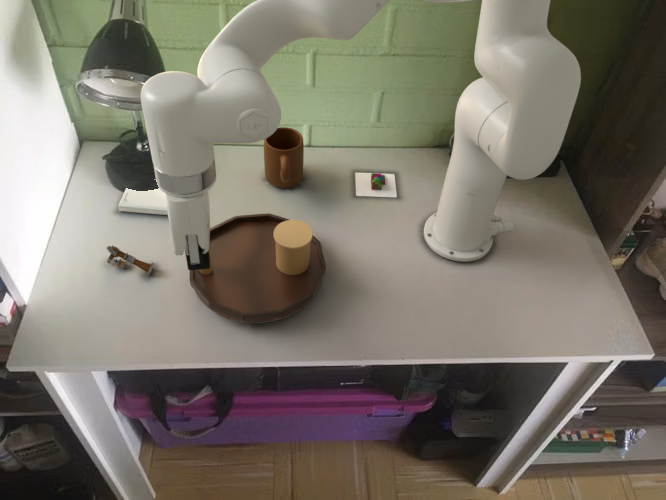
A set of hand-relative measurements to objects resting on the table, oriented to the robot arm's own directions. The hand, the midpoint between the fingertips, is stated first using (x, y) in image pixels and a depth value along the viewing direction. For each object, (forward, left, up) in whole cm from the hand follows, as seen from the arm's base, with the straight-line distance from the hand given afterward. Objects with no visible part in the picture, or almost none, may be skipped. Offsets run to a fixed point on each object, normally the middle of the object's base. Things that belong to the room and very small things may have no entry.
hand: (199, 265), depth 89 cm
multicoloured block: (-34, -27, -11) cm, 44 cm away
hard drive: (+8, -27, -11) cm, 30 cm away
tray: (-9, -6, -9) cm, 14 cm away
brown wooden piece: (+12, -10, -11) cm, 19 cm away
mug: (-16, -29, -11) cm, 34 cm away
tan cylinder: (-15, -6, -8) cm, 17 cm away
